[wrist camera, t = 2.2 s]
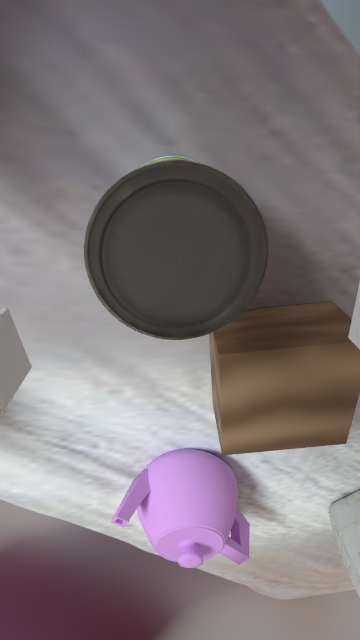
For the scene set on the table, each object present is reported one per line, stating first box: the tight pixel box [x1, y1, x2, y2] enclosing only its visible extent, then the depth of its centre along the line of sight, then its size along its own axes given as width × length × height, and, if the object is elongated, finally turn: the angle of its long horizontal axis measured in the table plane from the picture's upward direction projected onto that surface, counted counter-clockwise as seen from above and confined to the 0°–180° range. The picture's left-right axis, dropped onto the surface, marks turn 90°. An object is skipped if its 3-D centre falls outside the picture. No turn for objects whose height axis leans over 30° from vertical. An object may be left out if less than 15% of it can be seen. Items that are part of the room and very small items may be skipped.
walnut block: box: [209, 301, 360, 455], centre depth 35 cm, size 14×14×8 cm
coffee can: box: [84, 155, 268, 340], centre depth 23 cm, size 10×10×14 cm
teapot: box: [112, 449, 249, 568], centre depth 44 cm, size 22×16×12 cm
